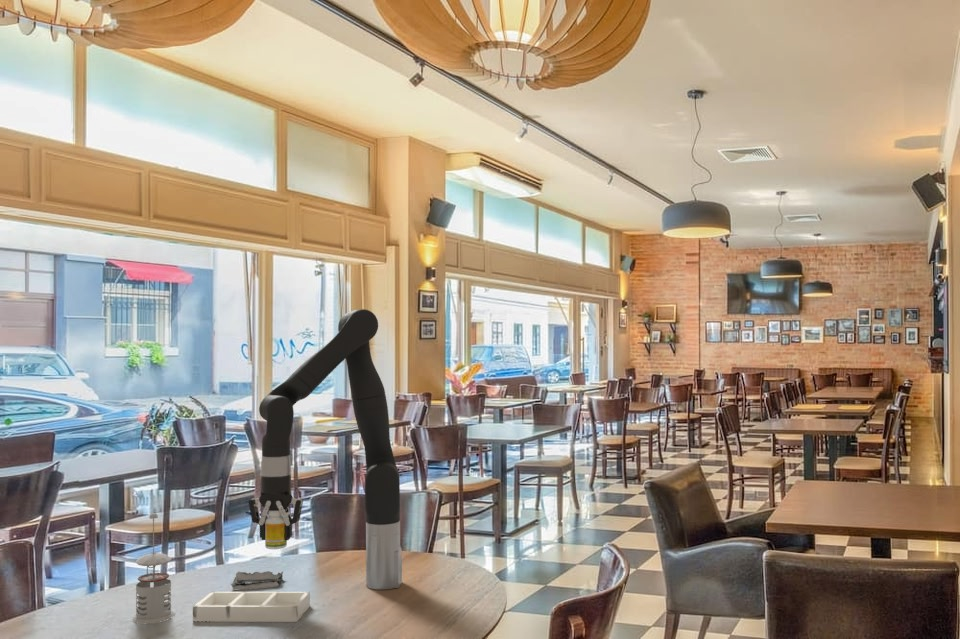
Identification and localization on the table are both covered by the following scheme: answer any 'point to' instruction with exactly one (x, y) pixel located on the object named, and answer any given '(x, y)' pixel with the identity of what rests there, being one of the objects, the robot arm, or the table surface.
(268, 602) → the rack
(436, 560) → the table surface
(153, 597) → the french press
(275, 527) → the supplement bottle
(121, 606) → the table surface
